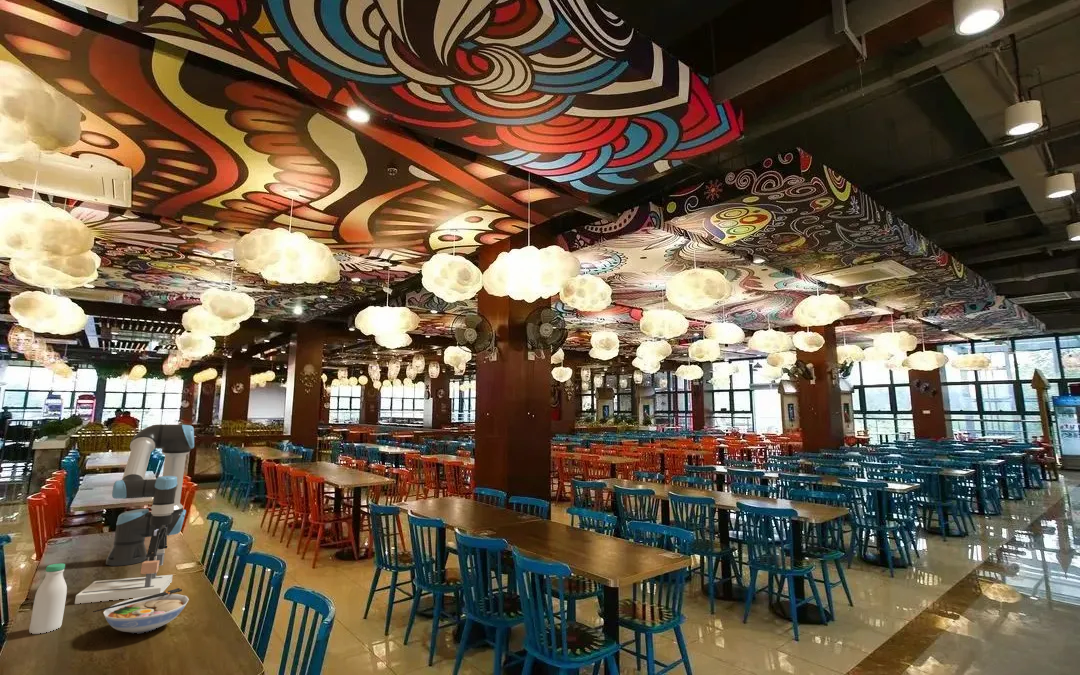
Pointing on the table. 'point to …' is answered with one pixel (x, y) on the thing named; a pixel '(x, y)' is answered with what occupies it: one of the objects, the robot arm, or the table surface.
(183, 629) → the table surface
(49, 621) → the milk bottle
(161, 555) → the fader
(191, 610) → the table surface
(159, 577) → the fader panel
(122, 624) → the ramen bowl
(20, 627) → the table surface
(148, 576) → the fader
